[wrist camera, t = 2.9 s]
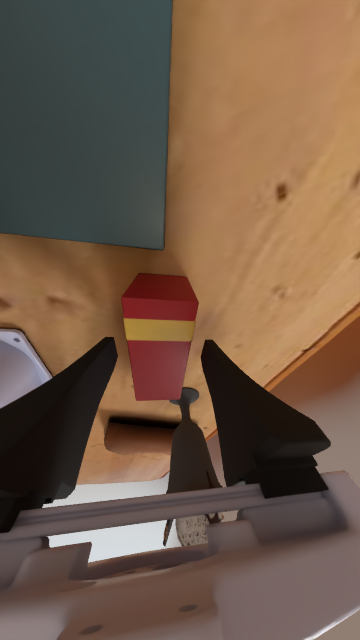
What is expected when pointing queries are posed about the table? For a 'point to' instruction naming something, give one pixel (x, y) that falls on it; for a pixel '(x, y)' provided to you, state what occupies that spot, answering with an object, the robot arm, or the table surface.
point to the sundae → (190, 473)
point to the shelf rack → (85, 119)
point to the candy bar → (159, 333)
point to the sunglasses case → (137, 439)
